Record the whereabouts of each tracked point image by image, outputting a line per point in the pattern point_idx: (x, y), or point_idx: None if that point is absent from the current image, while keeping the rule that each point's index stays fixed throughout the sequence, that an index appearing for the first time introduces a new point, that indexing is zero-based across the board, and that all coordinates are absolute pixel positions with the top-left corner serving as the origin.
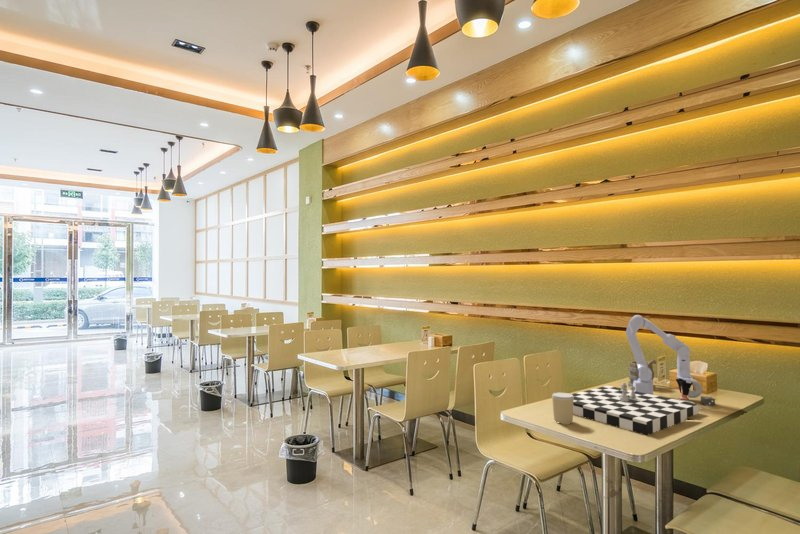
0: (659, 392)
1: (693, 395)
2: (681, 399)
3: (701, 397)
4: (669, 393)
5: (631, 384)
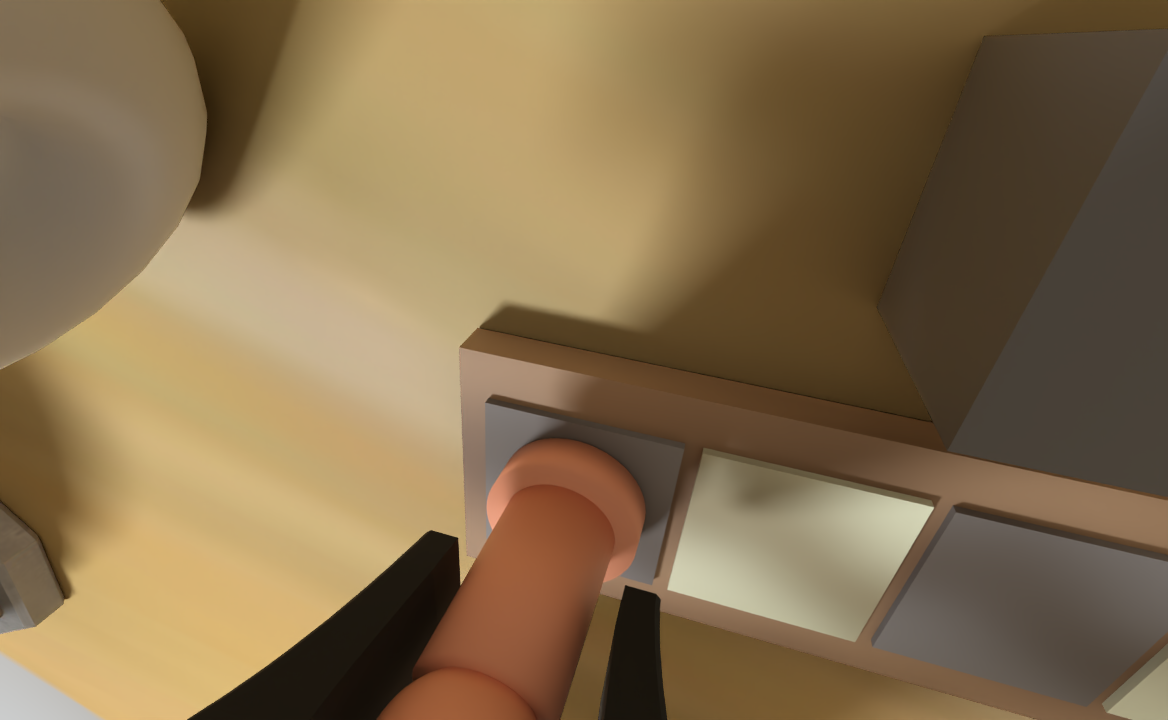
0: (116, 483)
1: (192, 152)
2: None
3: (1013, 449)
4: (96, 390)
5: (10, 631)
